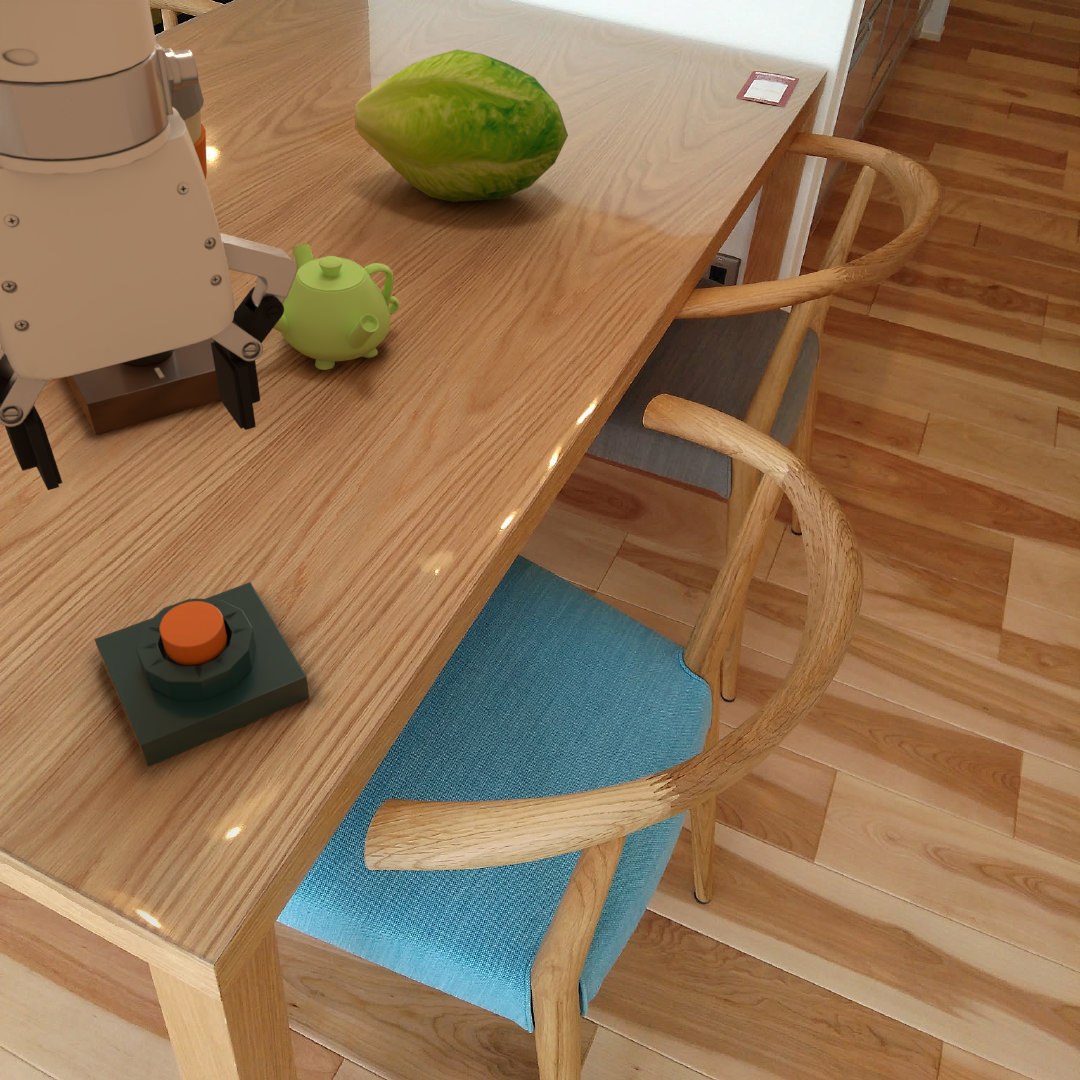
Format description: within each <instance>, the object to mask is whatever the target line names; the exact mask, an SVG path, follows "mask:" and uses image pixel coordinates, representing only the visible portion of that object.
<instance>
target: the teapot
mask: <svg viewBox="0 0 1080 1080" xmlns="http://www.w3.org/2000/svg"><path fill="white" fill-rule="evenodd" d="M291 249H292V254H293V257H294V261H295V262H296V263H297V265H298V270H297V273H296V276H295V278H294V281H293V284H292V286H291V289H290V291H289V294H288V296H287V298H285V300H284V302H283V306H284V313H283V315H282V317H281V318H280V319H279V321H278V322H277V323H276V325H275V326H274V327H273V330H276V331H278V332H280V334H281V336H282V337H283V339H284V341H286V342H287V343H288V345H290V346H291V347H292V348H294V349H295V350H296V351H297V352H298V353H301V354H302V355H303V356H306V357H308V358H311V359H314V360H315V362H314V366H315V368H317V369H318V370H323V371H325V370H330V369H333V368H334V367H335V366H336V365H335V364H336V363H335V362H345V361H351V360H355V359H358V358H361V357H362V358H374V357H375V356H377V355H378V352H379V351H378V350H377V348H378V346H379V345H380V344H382V343H383V341H384V340H385V339H386V337H387V336H388V334H389V332H390V328H391V315H394V314H395V313H397V312H398V311H399V309H400V301H399V299H398V298H397V297H396V296H393V295H392V294H393V290H394V289H393V288H394V285H395V284H394V283H395V282H394V281H395V277H394V273H393V271H392V269H391V268H390V267H389V266H388V265H386V264H384V263H381V262H374V263H370V264H367V265H366V266H365V267H363V266H362V265H360V264H359V263H357V261H356V262H355V261H354V260H351V259H349V258H344V257H339V256H335V255H327V256H322V257H318V258H314V255H313V252H312V249H311V246H310V244H309V243H304V244H300V245H295V246H294V247H292V248H291ZM377 273H384V274H385V279H384V285H383V289H382V291H381V289H380V287H379V285H377V283H376V282H375V280H374V279H373V277H372V276H371V275H373V274H377Z"/></svg>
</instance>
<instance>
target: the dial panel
mask: <svg viewBox="0 0 1080 1080" xmlns="http://www.w3.org/2000/svg"><path fill="white" fill-rule="evenodd" d="M212 342H214V340H213V339H212V338H210V339H208V340H205V341H202V342H198V343H195V344H191V345H188V346H184V347H180V348H177V349H173V351H172V353H171V355H170V356H169V357H168V358H166V359H165V360H163V361H161V362H158V363H155V364H151V365H144V366H137V365H130V364H127V363H124V362H123V363H119V364H115V365H112V366H108V367H104V368H100V369H96V370H92V371H88V372H84V373H80V374H76V375H72V376H67V377H65V379H66V381H67V383H68V385H69V387H70V388H71V391H72V392H73V395H74V397H75V398H76V400H77V402H78V404H79V405H80V408H81V409H82V411H83V413H84V415H85V417H86V419H87V421H88V423H89V425H90V427H91V429H92V430H93V432H94V434H95V435H100V434H101V435H102V434H104V433H108V432H111V431H115V430H118V429H122V428H125V427H129V426H132V425H136V424H140V423H143V422H147V421H150V420H154V419H157V418H161V417H164V416H168V415H172V414H175V413H179V412H183V411H186V410H190V409H194V408H196V407H197V408H198V407H200V406H204V405H208V404H210V403H215V402H218V401H221V399H220V394H219V389H218V383H217V377H216V371H215V365H214V359H213V353H212V347H211V343H212Z"/></svg>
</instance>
